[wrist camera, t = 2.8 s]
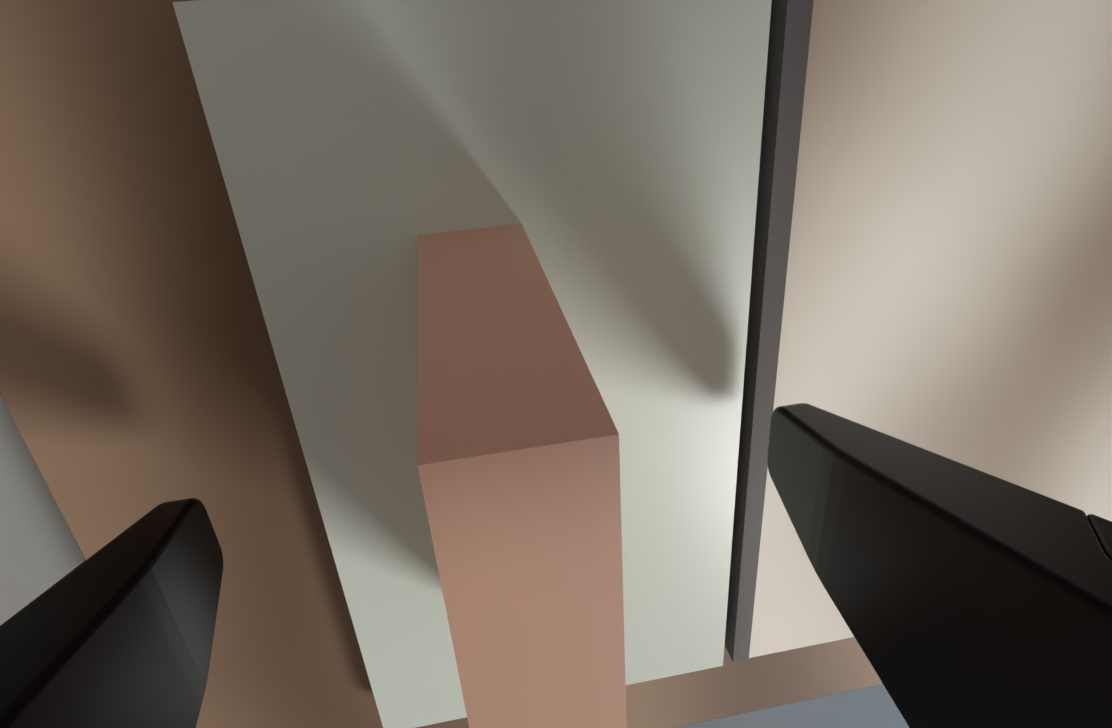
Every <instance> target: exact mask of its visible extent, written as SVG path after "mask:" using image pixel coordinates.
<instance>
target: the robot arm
mask: <svg viewBox="0 0 1112 728" xmlns="http://www.w3.org/2000/svg"><path fill="white" fill-rule="evenodd" d="M767 465H768V470H769V474H770V476H771V479H772V481H773V483H774V485H775V487H776V490H777V492H778V494H779V496H780V498H781V500H782V502H783V505H784V507H785V509H786V511H787V513H788V515H789V518H790V520H791V522H792V524H793V526H794V528H795V530H796V533H797V535H798V537H799V539H800V541H801V543H802V546H803V548H804V550H805V552H806V554H807V556H808V558H809V560H810V562H811V564H812V566H813V568H814V570H815V572H816V574H817V576H818V577H819V579H820V581H821V583H822V584H823V586H824V588H825V590H826V591H827V593H828V594H829V596H830V598H831V599H832V601H833V603H834V604H835V606H836V608H837V609H838V611H839V612H840V614H841V616H842V617H843V619H844V621H845V622H846V624H847V626H848V627H849V629H850V631H851V632H852V634H853V635H854V637H855V639H856V640H857V642H858V644H859V645H860V647H861V649H862V650H863V652H864V654H865V655H866V657H867V658H868V660H869V662H870V663H871V665H872V667H873V668H874V670H875V672H876V673H877V675H878V676H879V678H880V680H881V681H882V683H883V685H884V686H885V688H886V690H887V691H888V693H889V695H890V696H891V698H892V699H893V701H894V703H895V704H896V706H897V708H898V709H899V711H900V713H901V714H902V716H903V717H904V719H905V721H906V722H907V724H908V726H909V727H910V728H1112V521H1109V520H1106V519H1104V518H1101V517H1099V516H1096V515H1094V514H1089V515H1087V516H1086V514H1085V512H1084V511H1083V510H1080V509H1078V508H1075V507H1073V506H1070V505H1067V504H1065V503H1062V502H1060V501H1057V500H1055V499H1052V498H1049V497H1047V496H1044V495H1042V494H1039V493H1037V492H1034V491H1031V490H1029V489H1026V488H1024V487H1021V486H1018V485H1016V484H1013V483H1011V482H1008V481H1006V480H1003V479H1000V478H998V477H995V476H993V475H990V474H988V473H985V472H982V471H980V470H977V469H975V468H972V467H969V466H967V465H964V464H962V463H959V462H957V461H954V460H951V459H949V458H946V457H944V456H941V455H939V454H936V453H933V452H931V451H928V450H926V449H923V448H921V447H918V446H915V445H913V444H910V443H908V442H905V441H902V440H900V439H897V438H895V437H892V436H890V435H887V434H884V433H882V432H879V431H877V430H874V429H872V428H869V427H866V426H864V425H861V424H859V423H856V422H854V421H851V420H848V419H846V418H843V417H841V416H838V415H836V414H833V413H830V412H828V411H825V410H823V409H820V408H818V407H815V406H812V405H810V404H807V403H798V404H792V405H786V406H779V407H777V408H776V409H775V410H774V411H773V413H772V416H771V422H770V432H769V443H768V453H767ZM222 574H223V554H222V549H221V546H220V544H219V541H218V539H217V536H216V534H215V531H214V528H213V526H212V523H211V521H210V518H209V516H208V513H207V511H206V508H205V506H204V505H203V503H202V502H201V501H200V500H198V499H196V498H188V499H182V500H175V501H169V502H164V503H161V504H159V505H158V506H156V507H155V508H154V509H152V510H151V511H150V512H148V513H147V514H146V515H144V516H143V517H142V518H140V519H139V520H138V521H137V522H135V523H134V524H133V525H131V526H130V527H129V528H127V529H126V530H125V531H123V532H122V533H121V534H120V535H118V536H117V537H116V538H114V539H113V540H112V541H110V542H109V543H108V544H107V545H105V546H104V547H103V548H101V549H100V550H99V551H97V552H96V553H95V554H93V555H92V556H91V557H90V558H88V559H87V560H86V561H84V562H83V563H82V564H80V565H79V566H78V567H76V568H75V569H74V570H73V571H71V572H70V573H69V574H67V575H66V576H65V577H63V578H62V579H61V580H59V581H58V582H57V583H56V584H54V585H53V586H52V587H50V588H49V589H48V590H46V591H45V592H44V593H42V594H41V595H40V596H39V597H37V598H36V599H35V600H33V601H32V602H31V603H29V604H28V605H27V606H25V607H24V608H23V609H22V610H20V611H19V612H18V613H16V614H15V615H14V616H12V617H11V618H10V619H8V620H7V621H6V622H5V623H3V624H2V625H1V626H0V728H196V724H197V721H198V717H199V713H200V709H201V705H202V701H203V697H204V693H205V688H206V683H207V677H208V672H209V666H210V659H211V652H212V645H213V638H214V631H215V624H216V617H217V610H218V603H219V596H220V589H221V581H222Z"/></svg>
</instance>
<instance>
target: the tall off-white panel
mask: <svg viewBox="0 0 1112 728" xmlns="http://www.w3.org/2000/svg"><path fill="white" fill-rule="evenodd" d="M771 2H772V0H195V1H181V2H172V3H173V6H174V10H175V13H176V17H177V20H178V23H179V27H180V30H181V34H182V37H183V41H184V44H185V48H186V51H187V54H188V58H189V61H190V65H191V68H192V72H193V75H194V78H195V82H196V85H197V89H198V92H199V96H200V99H201V103H202V106H203V109H204V113H205V116H206V120H207V123H208V127H209V130H210V134H211V137H212V140H213V144H214V147H215V151H216V154H217V158H218V161H219V165H220V168H221V171H222V175H223V178H224V182H225V185H226V189H227V192H228V196H229V199H230V202H231V206H232V209H233V213H234V216H235V220H236V223H237V227H238V230H239V233H240V237H241V240H242V244H243V247H244V251H245V254H246V257H247V261H248V264H249V268H250V271H251V275H252V278H253V282H254V285H255V288H256V292H257V295H258V299H259V302H260V306H261V309H262V313H263V316H264V319H265V323H266V326H267V330H268V333H269V337H270V340H271V344H272V347H273V350H274V354H275V357H276V361H277V364H278V368H279V371H280V375H281V378H282V381H283V385H284V388H285V392H286V395H287V399H288V402H289V406H290V409H291V412H292V416H293V419H294V423H295V426H296V430H297V433H298V436H299V440H300V443H301V447H302V450H303V454H304V457H305V461H306V464H307V467H308V471H309V474H310V478H311V481H312V485H313V488H314V492H315V495H316V498H317V502H318V505H319V509H320V512H321V516H322V519H323V523H324V526H325V529H326V533H327V536H328V540H329V543H330V547H331V550H332V554H333V557H334V560H335V564H336V567H337V571H338V574H339V578H340V581H341V585H342V588H343V591H344V595H345V598H346V602H347V605H348V609H349V612H350V615H351V619H352V622H353V626H354V629H355V633H356V636H357V640H358V643H359V646H360V650H361V653H362V657H363V660H364V664H365V667H366V671H367V674H368V677H369V681H370V684H371V688H372V691H373V695H374V698H375V702H376V705H377V708H378V712H379V715H380V719H381V722H382V726H383V728H416V727H421V726H426V725H431V724H436V723H441V722H446V721H451V720H456V719H461V718H466V717H467V719H468V724H469V728H627V719H626V685H630V684H635V683H640V682H645V681H650V680H655V679H660V678H665V677H670V676H675V675H680V674H685V673H690V672H695V671H700V670H705V669H710V668H715V667H720V666H723V659H724V645H725V631H726V618H727V604H728V590H729V577H730V563H731V549H732V535H733V522H734V508H735V494H736V481H737V467H738V453H739V440H740V426H741V412H742V399H743V385H744V371H745V358H746V344H747V330H748V317H749V303H750V289H751V276H752V262H753V248H754V235H755V221H756V207H757V193H758V180H759V166H760V152H761V139H762V125H763V111H764V98H765V84H766V70H767V57H768V43H769V29H770V16H771Z"/></svg>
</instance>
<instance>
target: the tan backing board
mask: <svg viewBox="0 0 1112 728" xmlns="http://www.w3.org/2000/svg"><path fill="white" fill-rule="evenodd" d="M181 1H195V0H0V395H1V397H2V399H3V401H4V403H5V405H6V407H7V409H8V411H9V413H10V415H11V417H12V419H13V420H14V422H15V424H16V426H17V428H18V430H19V432H20V434H21V436H22V438H23V440H24V442H25V444H26V446H27V447H28V449H29V451H30V453H31V455H32V457H33V459H34V461H35V463H36V465H37V467H38V469H39V471H40V473H41V474H42V476H43V478H44V480H45V482H46V484H47V486H48V488H49V490H50V492H51V494H52V496H53V498H54V500H55V501H56V503H57V505H58V507H59V509H60V511H61V513H62V515H63V517H64V519H65V521H66V523H67V525H68V527H69V528H70V530H71V532H72V534H73V536H74V538H75V540H76V542H77V544H78V546H79V548H80V550H81V552H82V554H83V555H84V557H85V559H86V560H87V559H88V558H90V557H91V556H92V555H93V554H95V553H96V552H97V551H99V550H100V549H101V548H103V547H104V546H105V545H107V544H108V543H109V542H110V541H112V540H113V539H114V538H116V537H117V536H118V535H120V534H121V533H122V532H123V531H125V530H126V529H127V528H129V527H130V526H131V525H133V524H134V523H135V522H137V521H138V520H139V519H140V518H142V517H143V516H144V515H146V514H147V513H148V512H150V511H151V510H152V509H154V508H155V507H156V506H158V505H159V504H161V503H164V502H169V501H175V500H182V499H188V498H196V499H198V500H200V501H201V502H202V503H203V505H204V506H205V508H206V511H207V513H208V516H209V518H210V521H211V523H212V526H213V528H214V531H215V534H216V536H217V539H218V541H219V544H220V546H221V549H222V554H223V574H222V581H221V589H220V596H219V603H218V610H217V617H216V624H215V631H214V638H213V645H212V652H211V659H210V666H209V672H208V677H207V683H206V688H205V693H204V697H203V701H202V705H201V709H200V713H199V717H198V721H197V724H196V728H383V726H382V722H381V719H380V715H379V712H378V708H377V705H376V702H375V698H374V695H373V691H372V688H371V684H370V681H369V677H368V674H367V671H366V667H365V664H364V660H363V657H362V653H361V650H360V646H359V643H358V640H357V636H356V633H355V629H354V626H353V622H352V619H351V615H350V612H349V609H348V605H347V602H346V598H345V595H344V591H343V588H342V585H341V581H340V578H339V574H338V571H337V567H336V564H335V560H334V557H333V554H332V550H331V547H330V543H329V540H328V536H327V533H326V529H325V526H324V523H323V519H322V516H321V512H320V509H319V505H318V502H317V498H316V495H315V492H314V488H313V485H312V481H311V478H310V474H309V471H308V467H307V464H306V461H305V457H304V454H303V450H302V447H301V443H300V440H299V436H298V433H297V430H296V426H295V423H294V419H293V416H292V412H291V409H290V406H289V402H288V399H287V395H286V392H285V388H284V385H283V381H282V378H281V375H280V371H279V368H278V364H277V361H276V357H275V354H274V350H273V347H272V344H271V340H270V337H269V333H268V330H267V326H266V323H265V319H264V316H263V313H262V309H261V306H260V302H259V299H258V295H257V292H256V288H255V285H254V282H253V278H252V275H251V271H250V268H249V264H248V261H247V257H246V254H245V251H244V247H243V244H242V240H241V237H240V233H239V230H238V227H237V223H236V220H235V216H234V213H233V209H232V206H231V202H230V199H229V196H228V192H227V189H226V185H225V182H224V178H223V175H222V171H221V168H220V165H219V161H218V158H217V154H216V151H215V147H214V144H213V140H212V137H211V134H210V130H209V127H208V123H207V120H206V116H205V113H204V109H203V106H202V103H201V99H200V96H199V92H198V89H197V85H196V82H195V78H194V75H193V72H192V68H191V65H190V61H189V58H188V54H187V51H186V48H185V44H184V41H183V37H182V34H181V30H180V27H179V23H178V20H177V17H176V13H175V10H174V6H173V3H172V2H181ZM798 403H807V404H810V405H812V406H815V407H818V408H820V409H823V410H825V411H828V412H830V413H833V414H836V415H838V416H841V417H843V418H846V419H848V420H851V421H854V422H856V423H859V424H861V425H864V426H866V427H869V428H872V429H874V430H877V431H879V432H882V433H884V434H887V435H890V436H892V437H895V438H897V439H900V440H902V441H905V442H908V443H910V444H913V445H915V446H918V447H921V448H923V449H926V450H928V451H931V452H933V453H936V454H939V455H941V456H944V457H946V458H949V459H951V460H954V461H957V462H959V463H962V464H964V465H967V466H969V467H972V468H975V469H977V470H980V471H982V472H985V473H988V474H990V475H993V476H995V477H998V478H1000V479H1003V480H1006V481H1008V482H1011V483H1013V484H1016V485H1018V486H1021V487H1024V488H1026V489H1029V490H1031V491H1034V492H1037V493H1039V494H1042V495H1044V496H1047V497H1049V498H1052V499H1055V500H1057V501H1060V502H1062V503H1065V504H1067V505H1070V506H1073V507H1075V508H1078V509H1080V510H1083V511H1084V512H1085V514H1086V516H1087V515H1089V514H1094V515H1096V516H1099V517H1101V518H1104V519H1106V520H1109V521H1112V0H772V2H771V16H770V29H769V43H768V57H767V70H766V84H765V98H764V111H763V125H762V139H761V152H760V166H759V180H758V193H757V207H756V221H755V235H754V248H753V262H752V276H751V289H750V303H749V317H748V330H747V344H746V358H745V371H744V385H743V399H742V412H741V426H740V440H739V453H738V467H737V481H736V494H735V508H734V522H733V535H732V549H731V563H730V577H729V590H728V604H727V618H726V631H725V645H724V659H723V666H720V667H715V668H710V669H705V670H700V671H695V672H690V673H685V674H680V675H675V676H670V677H665V678H660V679H655V680H650V681H645V682H640V683H635V684H630V685H626V719H627V728H675V727H680V726H685V725H690V724H694V723H699V722H704V721H709V720H713V719H718V718H723V717H728V716H732V715H737V714H742V713H747V712H751V711H756V710H761V709H766V708H770V707H775V706H780V705H785V704H789V703H794V702H799V701H804V700H808V699H813V698H818V697H823V696H827V695H832V694H837V693H842V692H846V691H851V690H856V689H861V688H865V687H870V686H875V685H880V684H883V683H882V681H881V680H880V678H879V676H878V675H877V673H876V672H875V670H874V668H873V667H872V665H871V663H870V662H869V660H868V658H867V657H866V655H865V654H864V652H863V650H862V649H861V647H860V645H859V644H858V642H857V640H856V639H855V637H854V635H853V634H852V632H851V631H850V629H849V627H848V626H847V624H846V622H845V621H844V619H843V617H842V616H841V614H840V612H839V611H838V609H837V608H836V606H835V604H834V603H833V601H832V599H831V598H830V596H829V594H828V593H827V591H826V590H825V588H824V586H823V584H822V583H821V581H820V579H819V577H818V576H817V574H816V572H815V570H814V568H813V566H812V564H811V562H810V560H809V558H808V556H807V554H806V552H805V550H804V548H803V546H802V543H801V541H800V539H799V537H798V535H797V533H796V530H795V528H794V526H793V524H792V522H791V520H790V518H789V515H788V513H787V511H786V509H785V507H784V505H783V502H782V500H781V498H780V496H779V494H778V492H777V490H776V487H775V485H774V483H773V481H772V479H771V476H770V474H769V470H768V465H767V453H768V443H769V432H770V422H771V416H772V413H773V411H774V410H775V409H776V408H777V407H779V406H786V405H792V404H798ZM416 728H469V724H468V719H467V717H466V718H461V719H456V720H451V721H446V722H441V723H436V724H431V725H426V726H421V727H416Z"/></svg>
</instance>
